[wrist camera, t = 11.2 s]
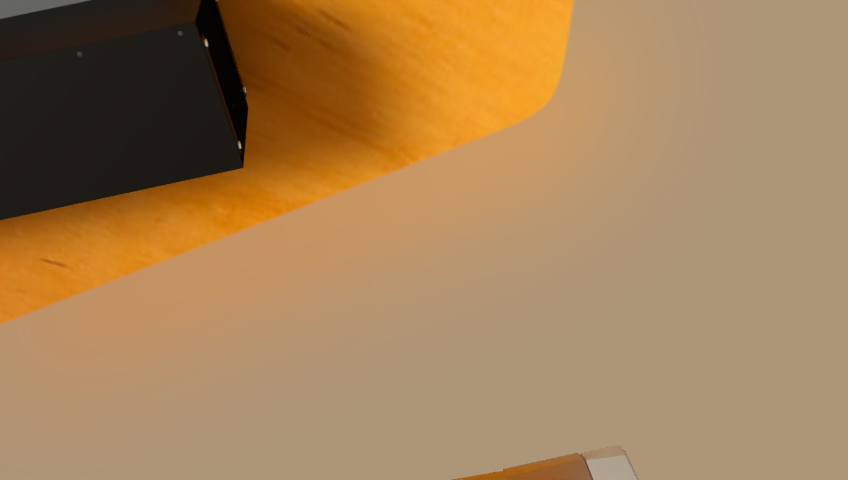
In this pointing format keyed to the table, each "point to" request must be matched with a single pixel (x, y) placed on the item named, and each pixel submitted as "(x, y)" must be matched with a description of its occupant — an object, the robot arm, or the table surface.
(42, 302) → the table surface
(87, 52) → the black long block
